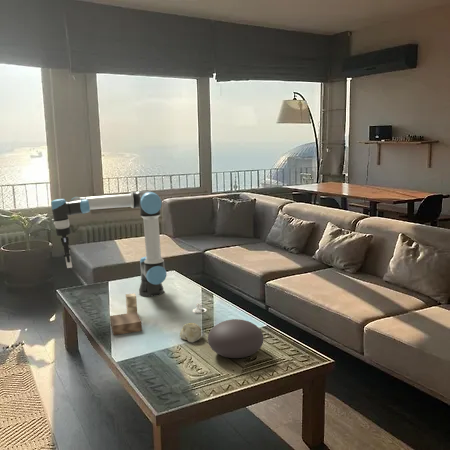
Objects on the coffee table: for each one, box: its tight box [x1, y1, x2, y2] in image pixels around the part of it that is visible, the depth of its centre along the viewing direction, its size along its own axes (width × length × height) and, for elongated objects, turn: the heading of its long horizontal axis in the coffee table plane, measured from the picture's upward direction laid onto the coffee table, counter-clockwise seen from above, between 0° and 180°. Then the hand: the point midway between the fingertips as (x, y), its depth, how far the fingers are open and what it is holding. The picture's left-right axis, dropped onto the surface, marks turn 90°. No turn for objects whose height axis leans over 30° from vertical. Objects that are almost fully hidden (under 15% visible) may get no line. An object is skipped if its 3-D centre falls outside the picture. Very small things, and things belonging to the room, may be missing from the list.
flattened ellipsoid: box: [207, 318, 264, 359], centre depth 220 cm, size 25×25×15 cm
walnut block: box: [109, 311, 143, 336], centre depth 253 cm, size 14×14×5 cm
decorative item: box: [179, 322, 203, 343], centre depth 240 cm, size 12×9×10 cm
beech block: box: [125, 292, 138, 314], centre depth 271 cm, size 5×5×11 cm
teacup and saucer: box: [192, 302, 208, 314], centre depth 275 cm, size 9×8×4 cm
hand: (69, 264), depth 274 cm, fingers open, 13 cm apart
